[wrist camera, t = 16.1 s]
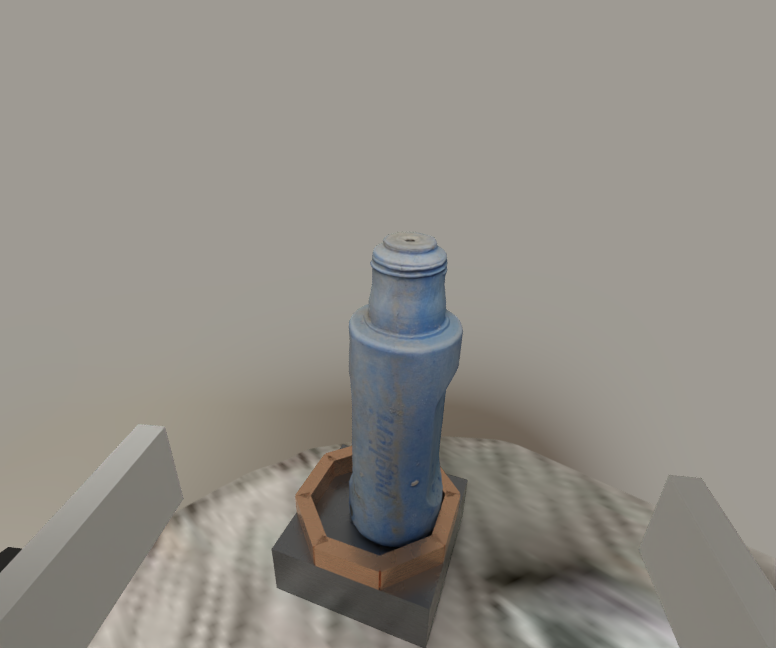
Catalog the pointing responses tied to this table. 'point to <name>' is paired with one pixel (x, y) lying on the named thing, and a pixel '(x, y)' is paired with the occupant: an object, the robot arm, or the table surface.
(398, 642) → the table surface
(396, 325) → the bottle
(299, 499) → the copper and grey block
